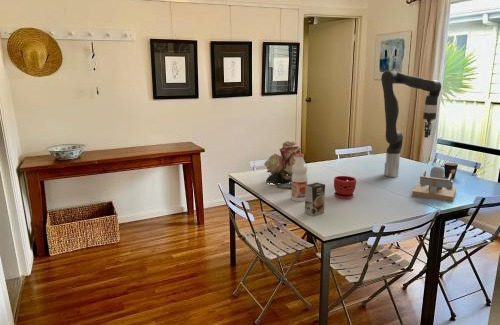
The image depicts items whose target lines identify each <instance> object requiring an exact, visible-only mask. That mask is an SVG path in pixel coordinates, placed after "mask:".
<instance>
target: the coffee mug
mask: <svg viewBox="0 0 500 325" xmlns="http://www.w3.org/2000/svg"><path fill="white" fill-rule="evenodd" d="M443 163H444V165H439V166H440V167H442V168H443V170H444V179H448V178H449V175H450V173H452V177H451V180H452V179H455V177H456V174H457V170H458V166H459V163H456V162H450V161H449V162H448V161H447V162H443Z"/></svg>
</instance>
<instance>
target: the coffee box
mask: <svg viewBox="0 0 500 325" xmlns="http://www.w3.org/2000/svg"><path fill="white" fill-rule="evenodd" d="M325 194H326V184H324V183H321V182H313V183H310V184H307V185H306V193H305V201H304V213H305V214H307V215H309V216H311V217H315V216H317V215H320V214H324V213H325V199H326V197H325V196H326V195H325Z"/></svg>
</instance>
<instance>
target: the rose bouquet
mask: <svg viewBox="0 0 500 325" xmlns="http://www.w3.org/2000/svg"><path fill="white" fill-rule="evenodd" d="M301 150H302V147H300V145H299V146H298V142H295V141H294V140H293V141H288V140H285V142H283V143H282V146H281V148H279V152H280V155H279V154H276V153H274V154H272V155H270V157H269V158H268V159H267V160H266V161H265V162H264V164H263V165H264V166H265V167H266V170H267V172H266V173H268V177H267V178H266V181H265V184H266V183H269V184H270V183H273V184H277V185H273V186H276V188H280V189H284V188H286V189H287V188H289V189H291V186H292V174H293V172H292V166H293V165H294V164H295V161H296V154H299V153H300V154H301ZM305 162H306V161H305V159H304V163H305ZM305 164H306V163H305ZM269 173H270V174H269ZM289 182H290V184H289ZM278 183H281V184H283V185H281V184H278Z"/></svg>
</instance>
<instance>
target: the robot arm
mask: <svg viewBox="0 0 500 325" xmlns="http://www.w3.org/2000/svg"><path fill="white" fill-rule="evenodd" d="M380 81H381V86H382V91H383V100H384V114H385V115H384V117H385V140H386V142H387V143H388V147H387V149H386V154H385V155H386V158H385V163H384V173H383V175H384V176H386V177H390V178H396V177H397V178H398V177H399V174H400V172H399V171H400V170H399V169H400V160H401V150H402V148H403V139H404V136H403V133H402V132H401V131H400V130H398V129H397V120H398V118H399V113H400V112H399V111H400V108H399V101H398V99H397V95H396V94H395V92H394V87H393V86H394V84H397V85H399V84H400V85H405V86H408V87H409V88H413V89H418V90H423V91H424V92H428V95H426V97H425V101H424V108H423V116H422V119H423V120H426V121H425V122H424V129H423V131H424V138H426V139H427V138H428V137H429V136H431V133H432V128H433V121H435V120H436V118H437V113H438V112H437V111H438V98H439V96H440V93H441V89H442V84H441V82H440V80H438V79H437V80H436V79H435V80H434V79H433V80H429V79H425V78H423V77H418V76H412V75H406V74H403V73H401V72H397V71H396V70H386V71H383V73H382V75H381V80H380Z"/></svg>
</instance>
